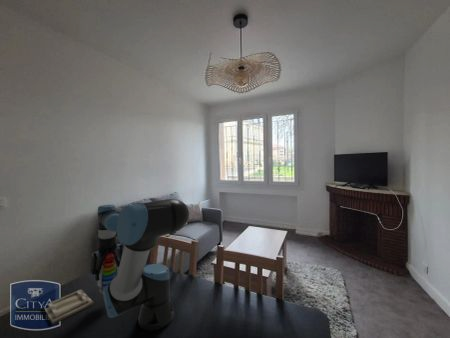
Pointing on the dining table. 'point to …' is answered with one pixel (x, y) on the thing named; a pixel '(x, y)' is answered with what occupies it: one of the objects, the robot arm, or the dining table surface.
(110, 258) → the stacking toy
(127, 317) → the dining table surface
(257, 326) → the dining table surface
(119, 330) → the dining table surface
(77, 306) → the rectangular beige tray
